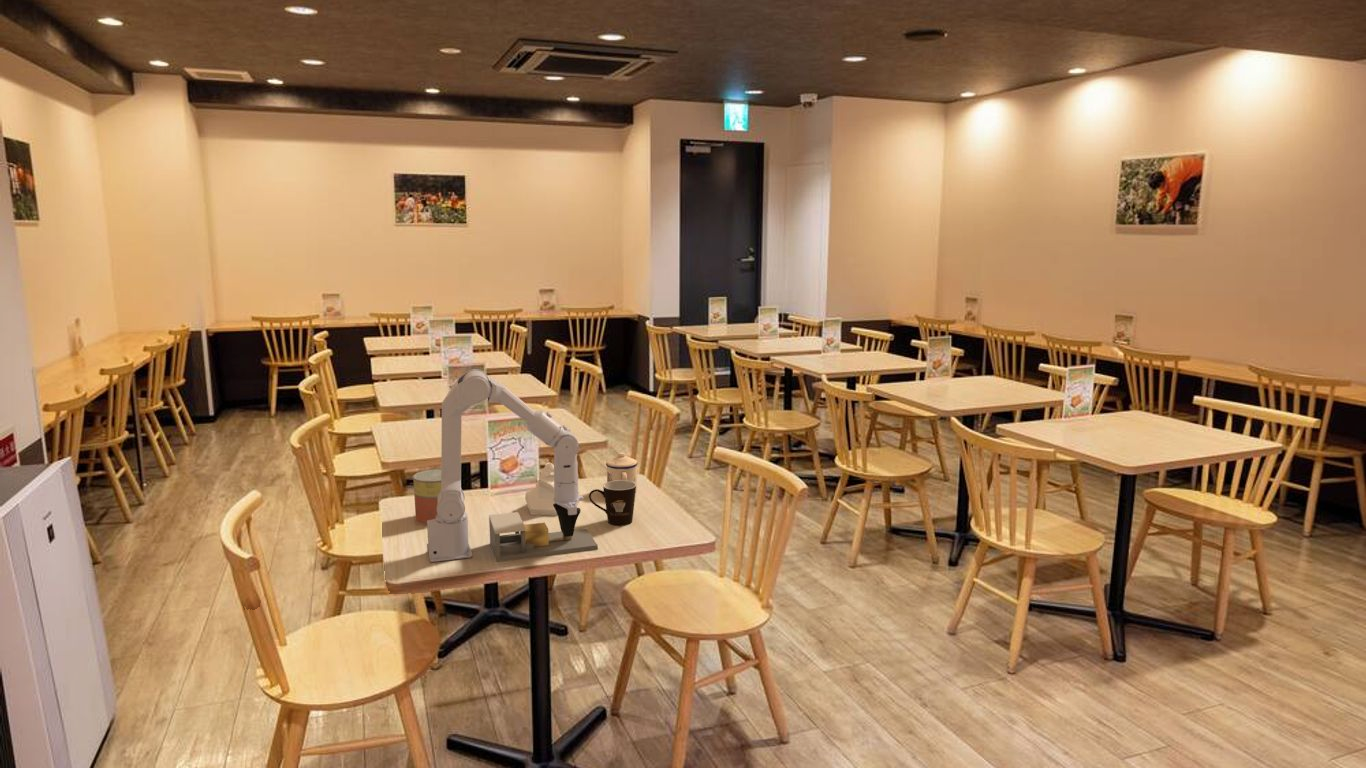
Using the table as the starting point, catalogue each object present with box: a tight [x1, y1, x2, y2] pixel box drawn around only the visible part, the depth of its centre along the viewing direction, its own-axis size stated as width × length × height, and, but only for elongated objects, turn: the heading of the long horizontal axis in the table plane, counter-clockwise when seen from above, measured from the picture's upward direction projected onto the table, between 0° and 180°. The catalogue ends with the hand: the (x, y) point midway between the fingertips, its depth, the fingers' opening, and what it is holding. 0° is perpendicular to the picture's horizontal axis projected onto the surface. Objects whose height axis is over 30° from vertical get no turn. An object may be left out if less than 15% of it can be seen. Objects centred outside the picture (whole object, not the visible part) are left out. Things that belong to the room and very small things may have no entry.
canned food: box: [412, 468, 441, 527], centre depth 226 cm, size 11×11×12 cm
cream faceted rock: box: [524, 462, 558, 516], centre depth 234 cm, size 12×15×14 cm
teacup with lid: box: [605, 452, 638, 494], centre depth 248 cm, size 12×9×12 cm
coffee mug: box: [588, 480, 637, 527], centre depth 225 cm, size 12×9×10 cm
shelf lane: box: [488, 511, 599, 562], centre depth 207 cm, size 24×12×7 cm, turn 109°
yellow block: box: [519, 522, 572, 547], centre depth 207 cm, size 12×5×5 cm, turn 109°
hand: (567, 534), depth 209 cm, fingers closed on yellow block, 2 cm apart
